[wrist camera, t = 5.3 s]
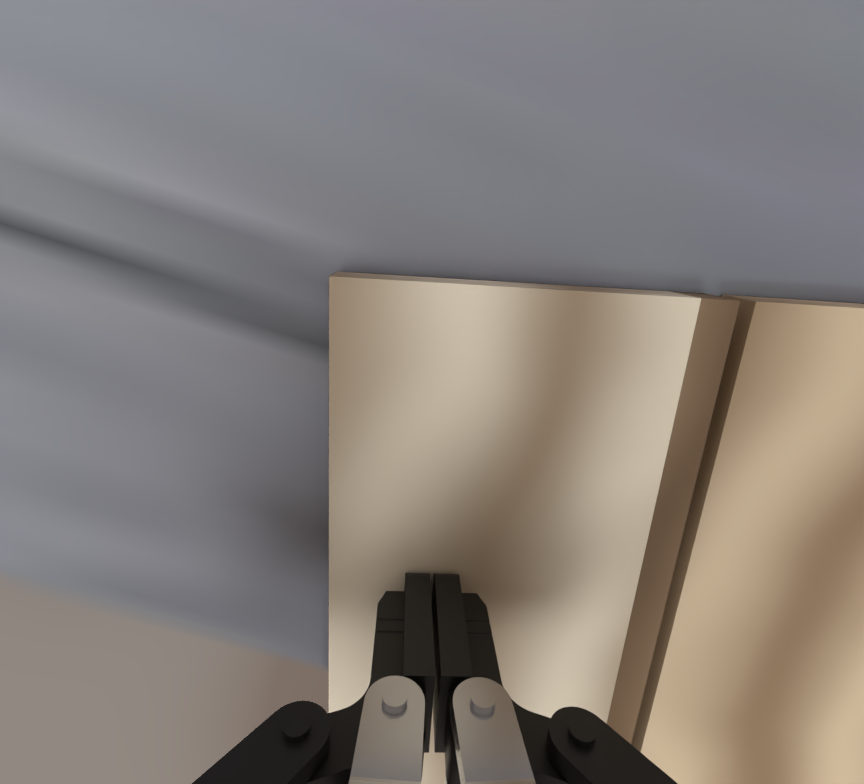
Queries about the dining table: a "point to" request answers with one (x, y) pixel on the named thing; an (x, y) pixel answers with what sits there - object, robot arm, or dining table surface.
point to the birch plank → (518, 471)
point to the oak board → (770, 565)
